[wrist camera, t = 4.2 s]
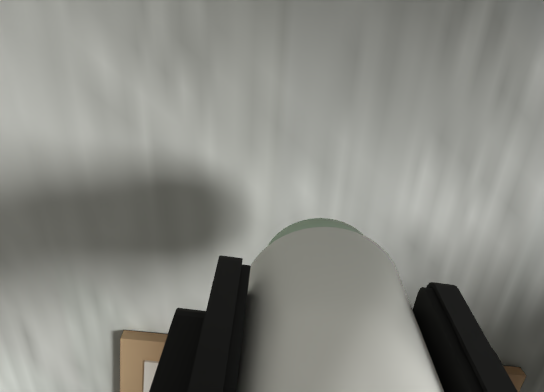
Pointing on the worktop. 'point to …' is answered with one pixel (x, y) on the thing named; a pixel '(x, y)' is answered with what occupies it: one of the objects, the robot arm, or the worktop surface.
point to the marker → (330, 317)
